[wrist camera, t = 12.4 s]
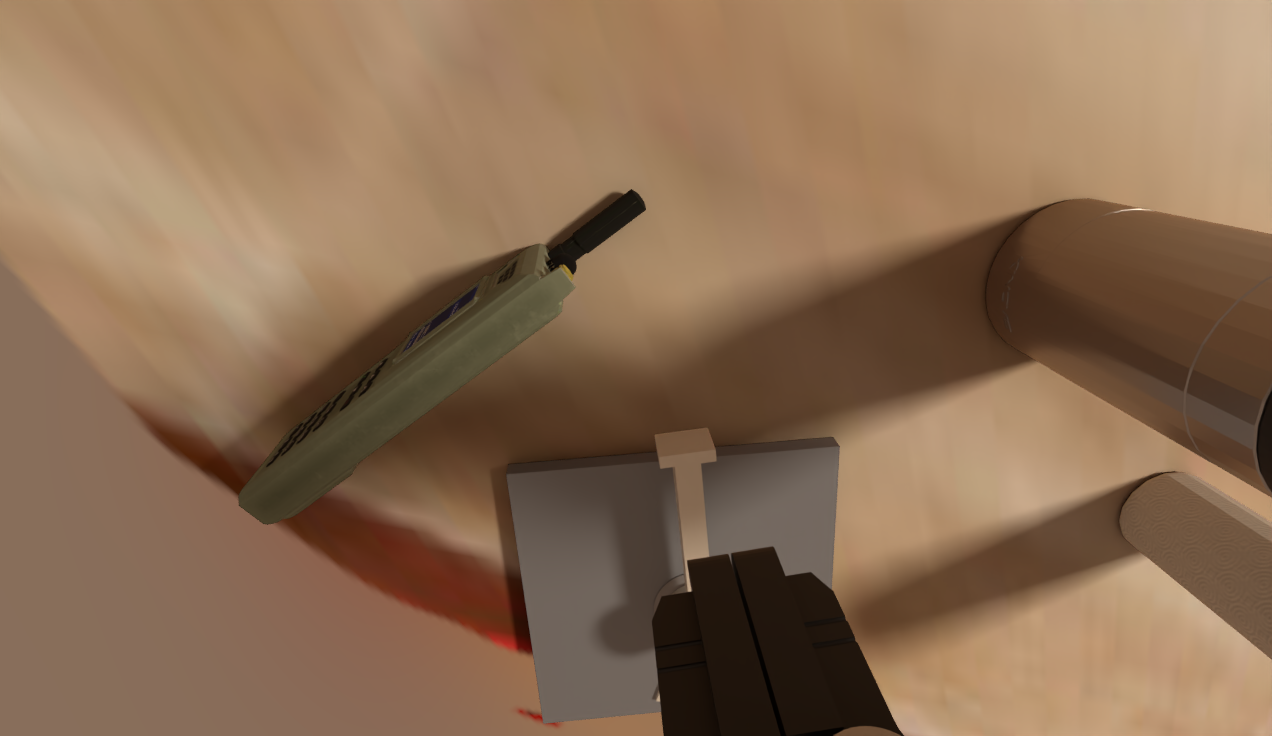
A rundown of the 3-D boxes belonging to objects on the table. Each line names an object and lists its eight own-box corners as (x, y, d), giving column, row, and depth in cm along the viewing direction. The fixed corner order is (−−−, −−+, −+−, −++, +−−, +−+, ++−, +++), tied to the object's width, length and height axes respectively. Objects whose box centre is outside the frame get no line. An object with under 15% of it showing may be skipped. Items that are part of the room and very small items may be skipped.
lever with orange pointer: (737, 697, 47) (750, 750, 43) (674, 705, 47) (682, 760, 43) (715, 415, 39) (730, 450, 35) (640, 425, 39) (646, 461, 35)
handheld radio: (277, 430, 40) (619, 166, 36) (319, 467, 41) (655, 217, 37) (224, 494, 34) (629, 185, 30) (276, 536, 35) (672, 245, 31)
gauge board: (833, 437, 42) (841, 448, 41) (820, 682, 50) (826, 699, 48) (508, 464, 41) (505, 477, 40) (544, 709, 49) (543, 727, 47)
